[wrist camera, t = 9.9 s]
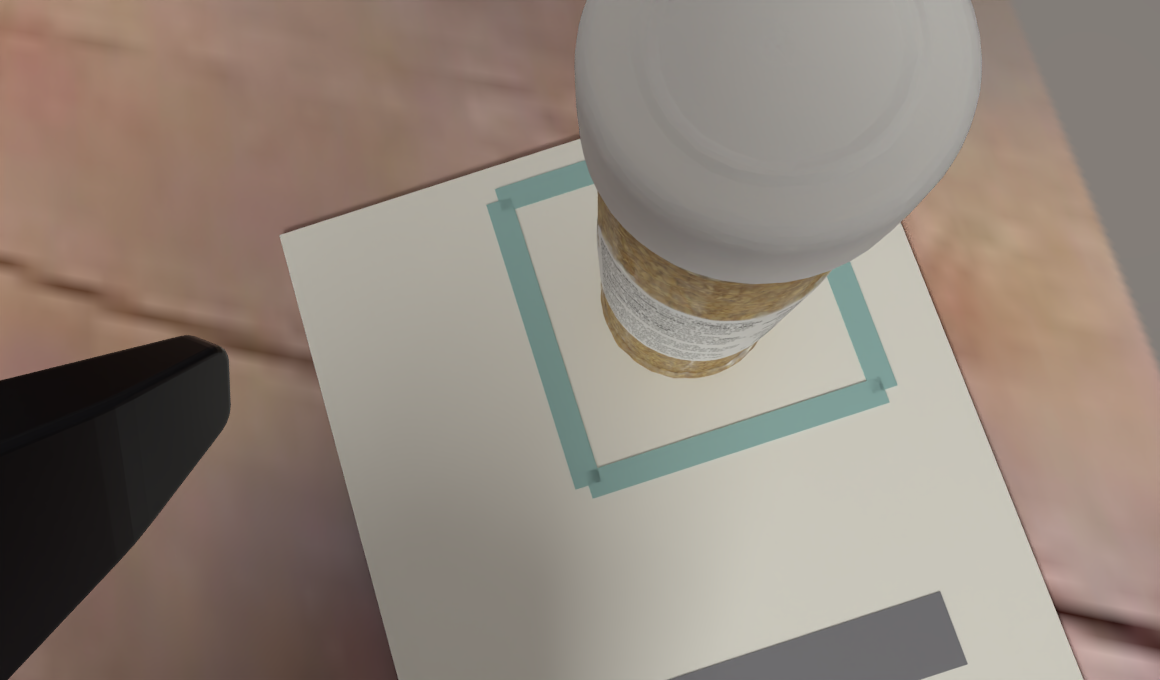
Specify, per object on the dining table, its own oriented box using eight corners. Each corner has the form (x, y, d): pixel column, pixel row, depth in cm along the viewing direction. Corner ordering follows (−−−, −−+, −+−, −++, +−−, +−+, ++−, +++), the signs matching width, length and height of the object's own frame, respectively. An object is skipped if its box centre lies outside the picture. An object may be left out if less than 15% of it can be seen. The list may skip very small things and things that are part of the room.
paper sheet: (489, 1012, 20) (488, 1018, 20) (281, 236, 23) (279, 234, 23) (1129, 802, 20) (1134, 805, 20) (833, 59, 23) (835, 56, 23)
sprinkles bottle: (683, 181, 23) (774, -222, 10) (807, 298, 22) (1088, 38, 9) (562, 298, 23) (485, 45, 9) (685, 420, 22) (789, 337, 9)
